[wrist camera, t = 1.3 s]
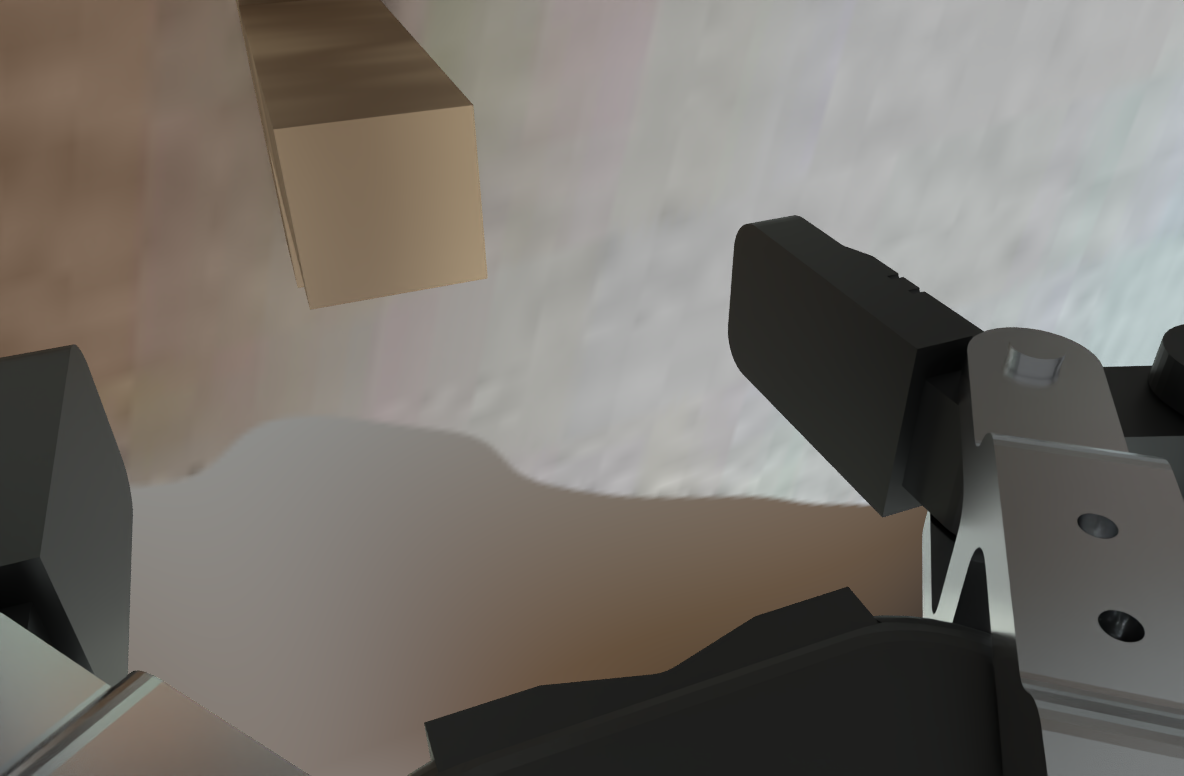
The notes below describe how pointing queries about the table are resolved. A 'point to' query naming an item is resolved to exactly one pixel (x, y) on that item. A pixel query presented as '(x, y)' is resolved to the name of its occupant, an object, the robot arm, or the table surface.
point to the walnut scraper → (364, 150)
